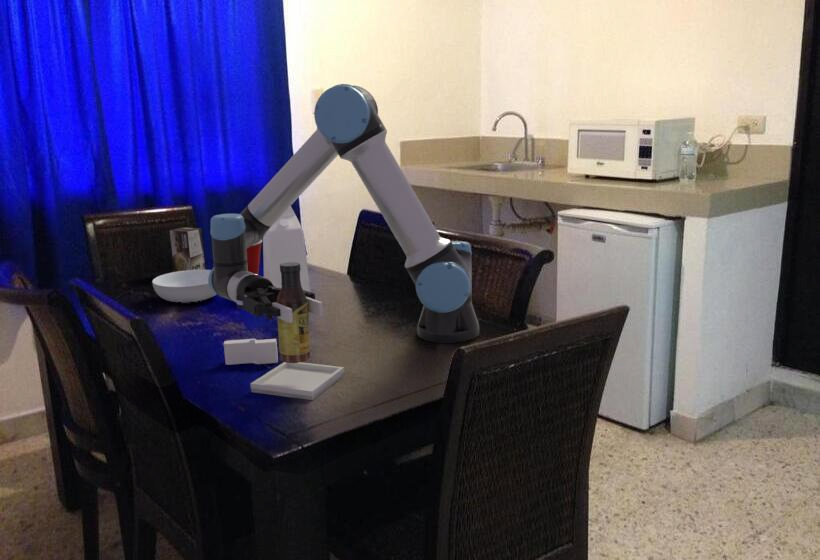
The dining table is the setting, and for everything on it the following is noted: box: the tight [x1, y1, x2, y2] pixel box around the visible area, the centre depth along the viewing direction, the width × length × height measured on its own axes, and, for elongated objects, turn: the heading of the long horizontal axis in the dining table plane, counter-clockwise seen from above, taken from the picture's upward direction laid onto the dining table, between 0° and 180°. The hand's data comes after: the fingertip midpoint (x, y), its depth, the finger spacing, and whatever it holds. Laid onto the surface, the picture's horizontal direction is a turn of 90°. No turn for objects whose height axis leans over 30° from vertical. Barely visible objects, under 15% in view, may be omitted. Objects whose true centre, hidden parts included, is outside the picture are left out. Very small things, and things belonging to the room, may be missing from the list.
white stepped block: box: [223, 338, 279, 366], centre depth 165 cm, size 15×11×6 cm
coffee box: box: [169, 227, 206, 272], centre depth 252 cm, size 9×6×16 cm
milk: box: [262, 205, 311, 292], centre depth 226 cm, size 12×12×26 cm
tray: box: [250, 362, 346, 401], centre depth 152 cm, size 14×14×2 cm
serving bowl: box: [151, 269, 217, 304], centre depth 221 cm, size 21×21×7 cm
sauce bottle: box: [276, 262, 311, 363], centre depth 149 cm, size 7×6×20 cm
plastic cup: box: [247, 239, 263, 275], centre depth 249 cm, size 11×11×12 cm
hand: (306, 312), depth 145 cm, fingers closed on sauce bottle, 6 cm apart
